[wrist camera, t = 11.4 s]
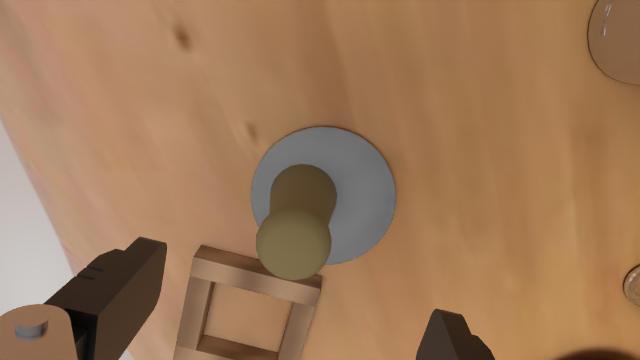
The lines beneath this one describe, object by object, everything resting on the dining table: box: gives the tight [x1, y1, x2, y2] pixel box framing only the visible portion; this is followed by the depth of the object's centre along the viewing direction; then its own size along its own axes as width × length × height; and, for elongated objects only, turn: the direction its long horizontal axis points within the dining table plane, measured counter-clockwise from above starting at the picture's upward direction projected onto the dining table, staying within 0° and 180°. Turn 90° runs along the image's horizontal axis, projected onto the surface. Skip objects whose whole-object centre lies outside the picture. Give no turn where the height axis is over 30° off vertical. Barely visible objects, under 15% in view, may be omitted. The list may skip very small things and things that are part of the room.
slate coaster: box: [251, 126, 396, 265], centre depth 39 cm, size 13×13×1 cm
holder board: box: [173, 245, 322, 360], centre depth 42 cm, size 12×12×2 cm
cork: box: [256, 164, 337, 280], centre depth 33 cm, size 6×6×11 cm
